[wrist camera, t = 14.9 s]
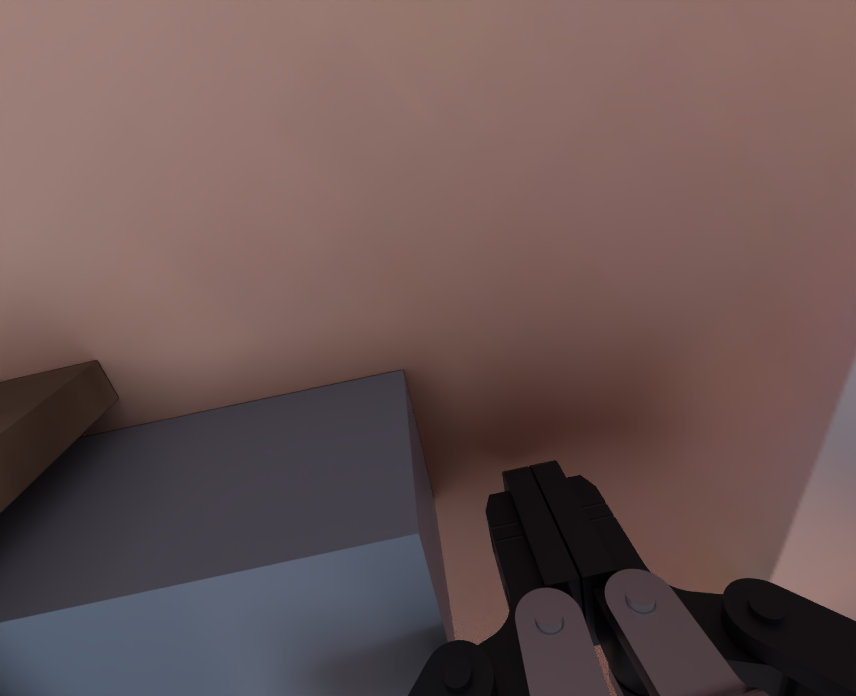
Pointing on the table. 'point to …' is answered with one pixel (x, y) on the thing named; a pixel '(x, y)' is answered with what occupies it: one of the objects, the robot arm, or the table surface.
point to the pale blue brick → (230, 555)
